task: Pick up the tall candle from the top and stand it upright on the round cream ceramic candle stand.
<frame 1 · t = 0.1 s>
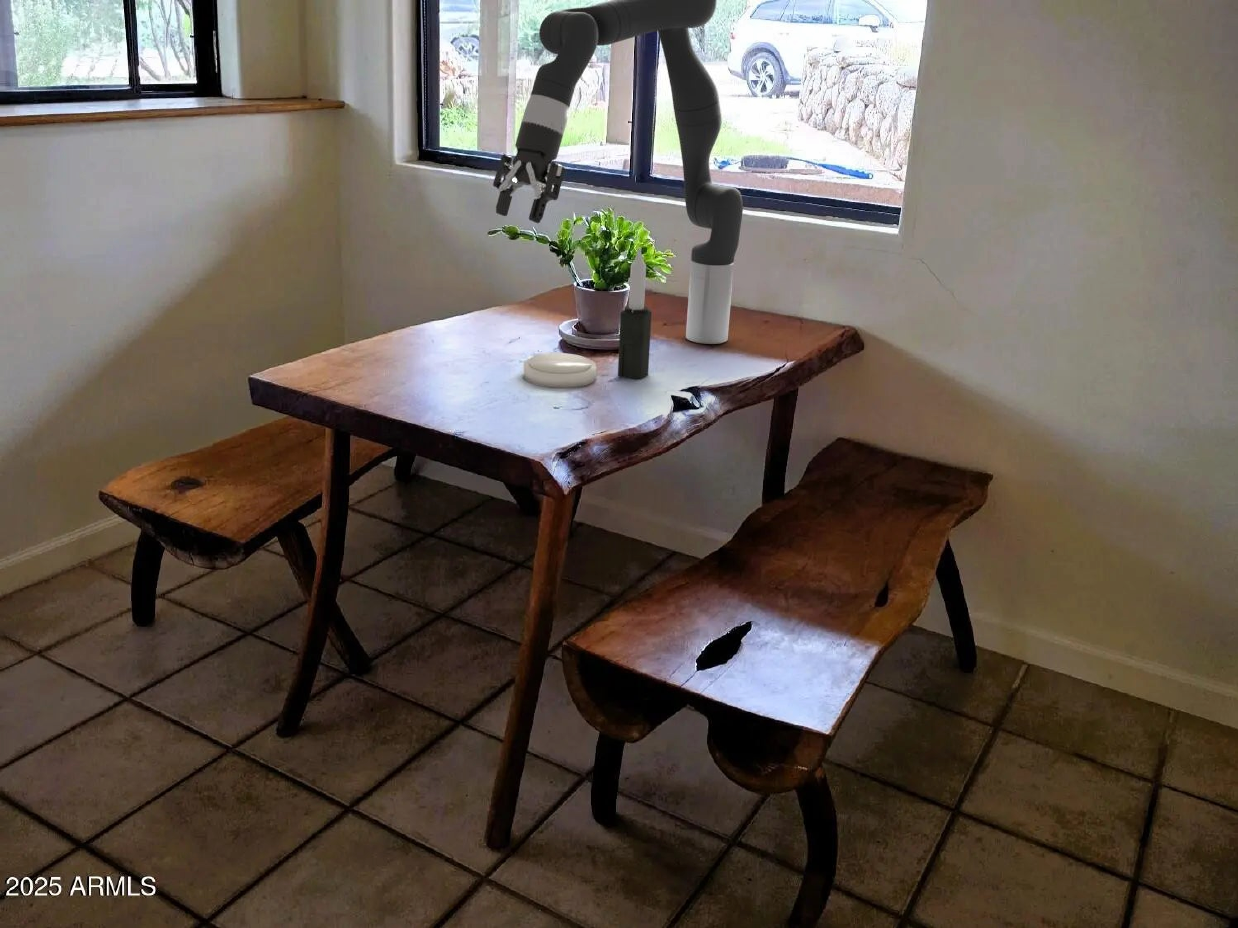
hand: (517, 218, 197), 31 cm above the table, tool tilted 20°, fingers open, 8 cm apart
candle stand: (559, 376, 217), on the table
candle: (632, 375, 221), on the table
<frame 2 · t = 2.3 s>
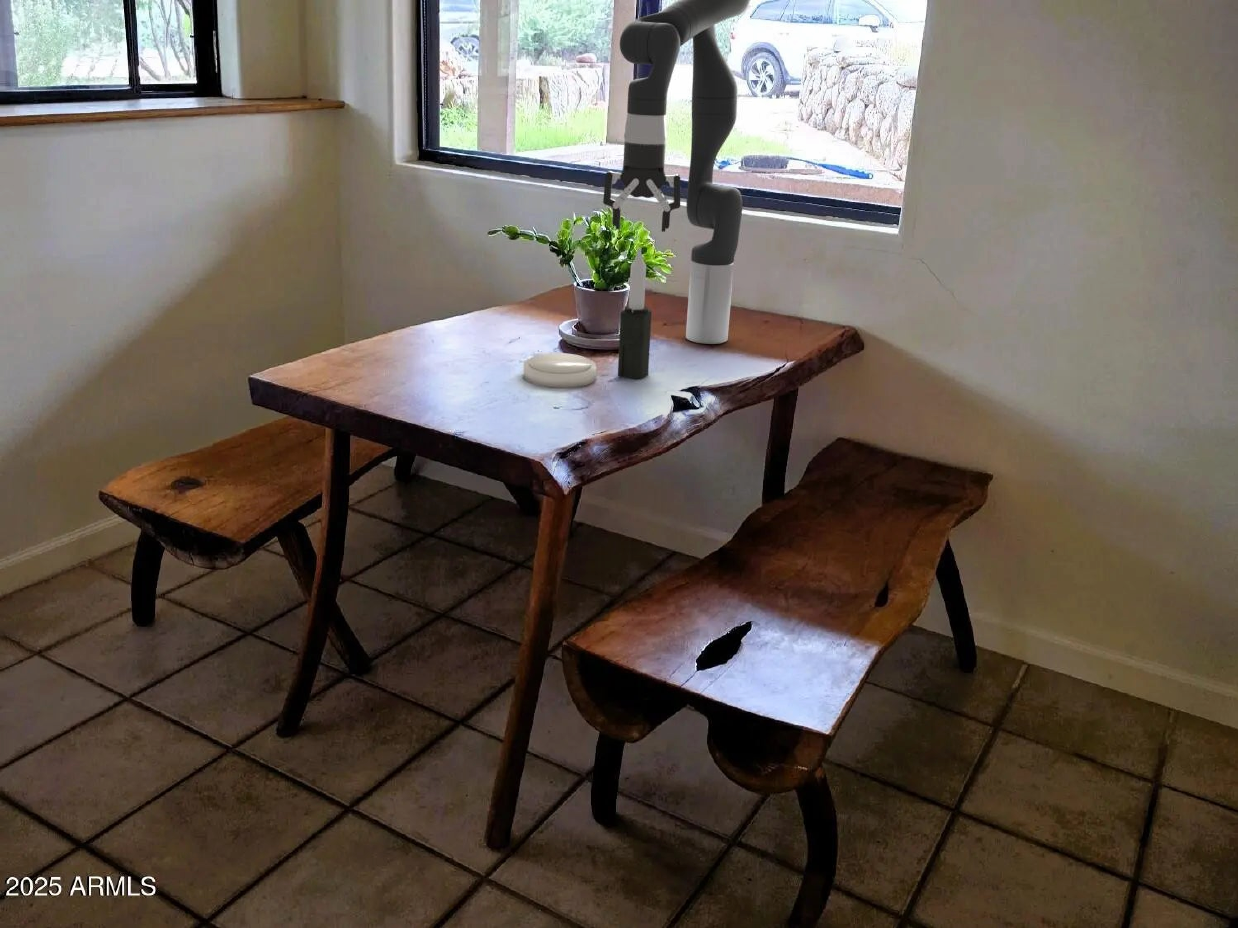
hand: (640, 230, 210), 28 cm above the table, tool pointing down, fingers open, 8 cm apart
nothing on the table moved.
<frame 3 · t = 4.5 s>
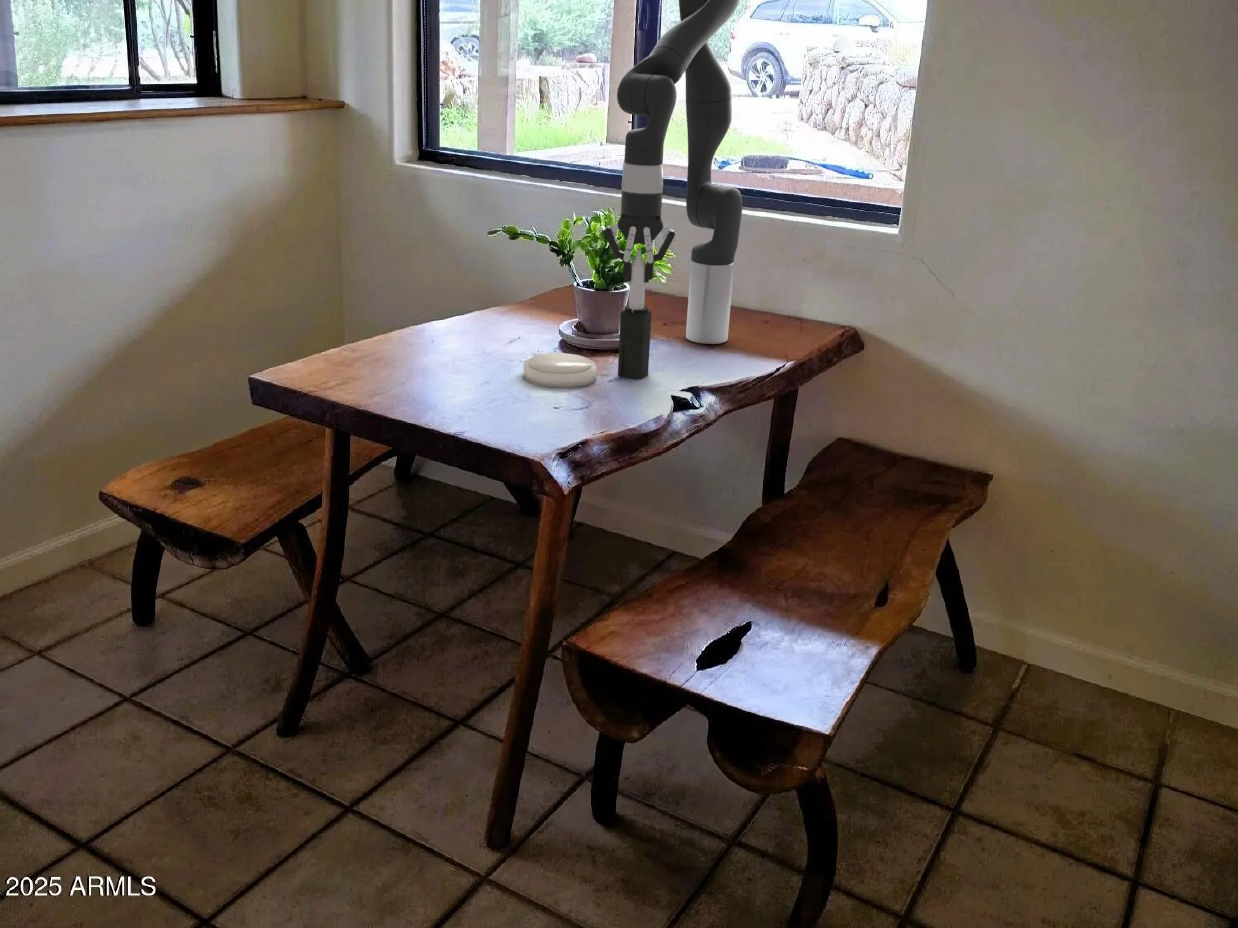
hand: (637, 281, 214), 19 cm above the table, tool pointing down, fingers closed on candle, 3 cm apart
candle: (632, 375, 221), on the table, touching gripper
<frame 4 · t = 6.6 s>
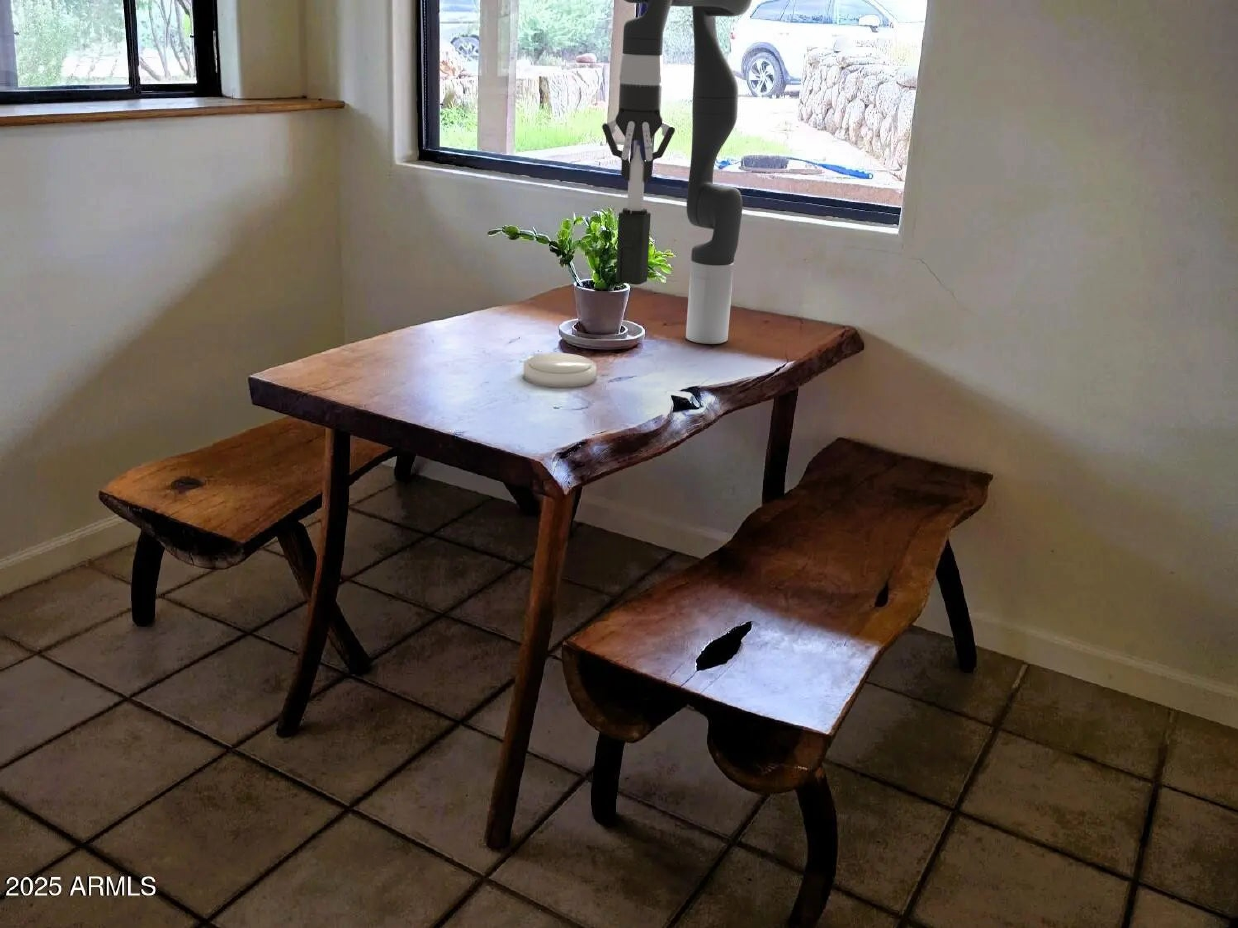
hand: (636, 180, 206), 37 cm above the table, tool pointing down, fingers closed on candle, 3 cm apart
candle: (631, 282, 213), point 18 cm above the table, touching gripper
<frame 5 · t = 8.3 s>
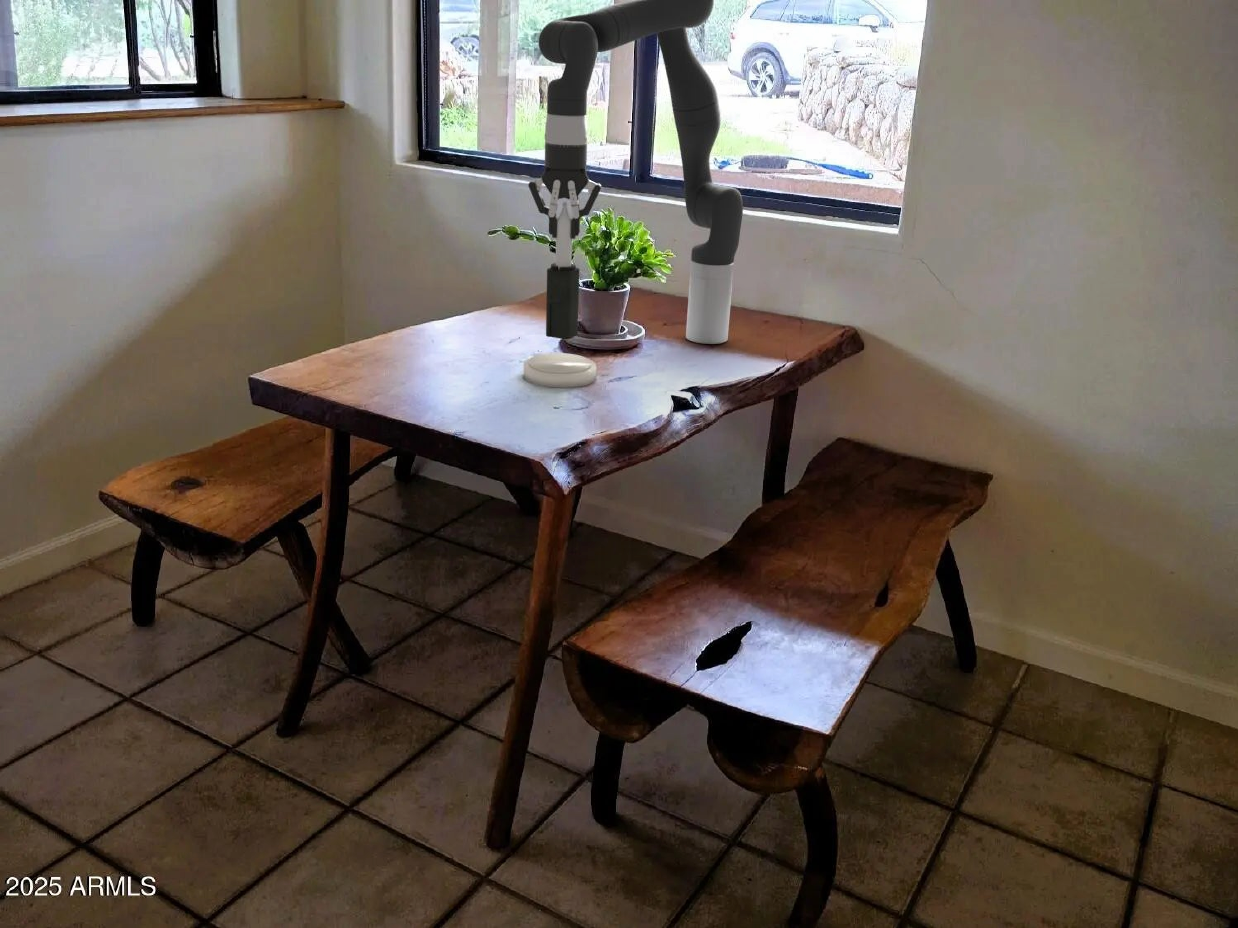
hand: (563, 237, 207), 27 cm above the table, tool pointing down, fingers closed on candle, 3 cm apart
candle: (561, 336, 214), point 8 cm above the table, touching gripper
when the fingers open (23 cm above the table, at t = 9.2 s): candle drops 1 cm, resting on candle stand.
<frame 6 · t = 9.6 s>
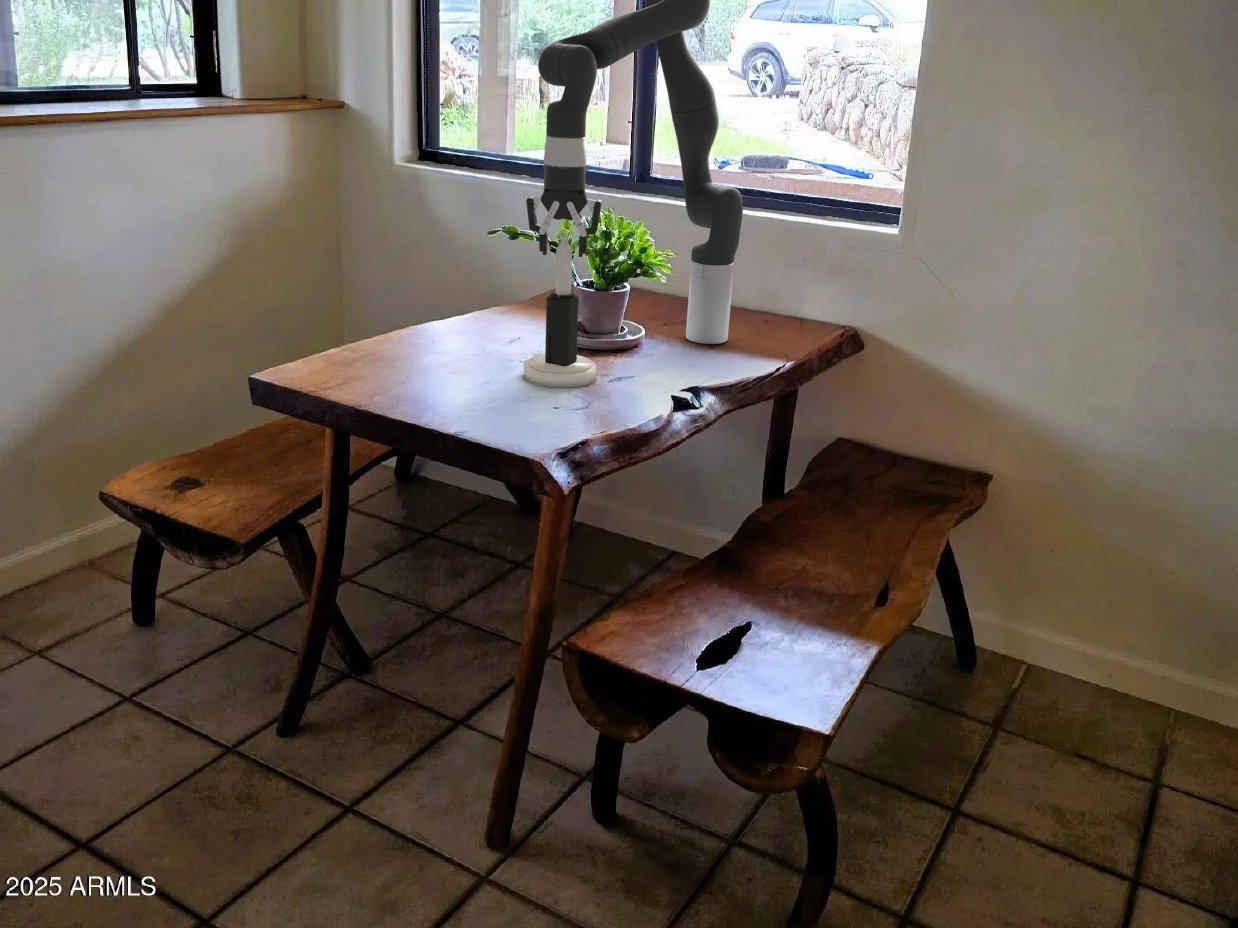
hand: (562, 255, 209), 24 cm above the table, tool pointing down, fingers open, 6 cm apart
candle: (560, 362, 216), point 3 cm above the table, touching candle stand
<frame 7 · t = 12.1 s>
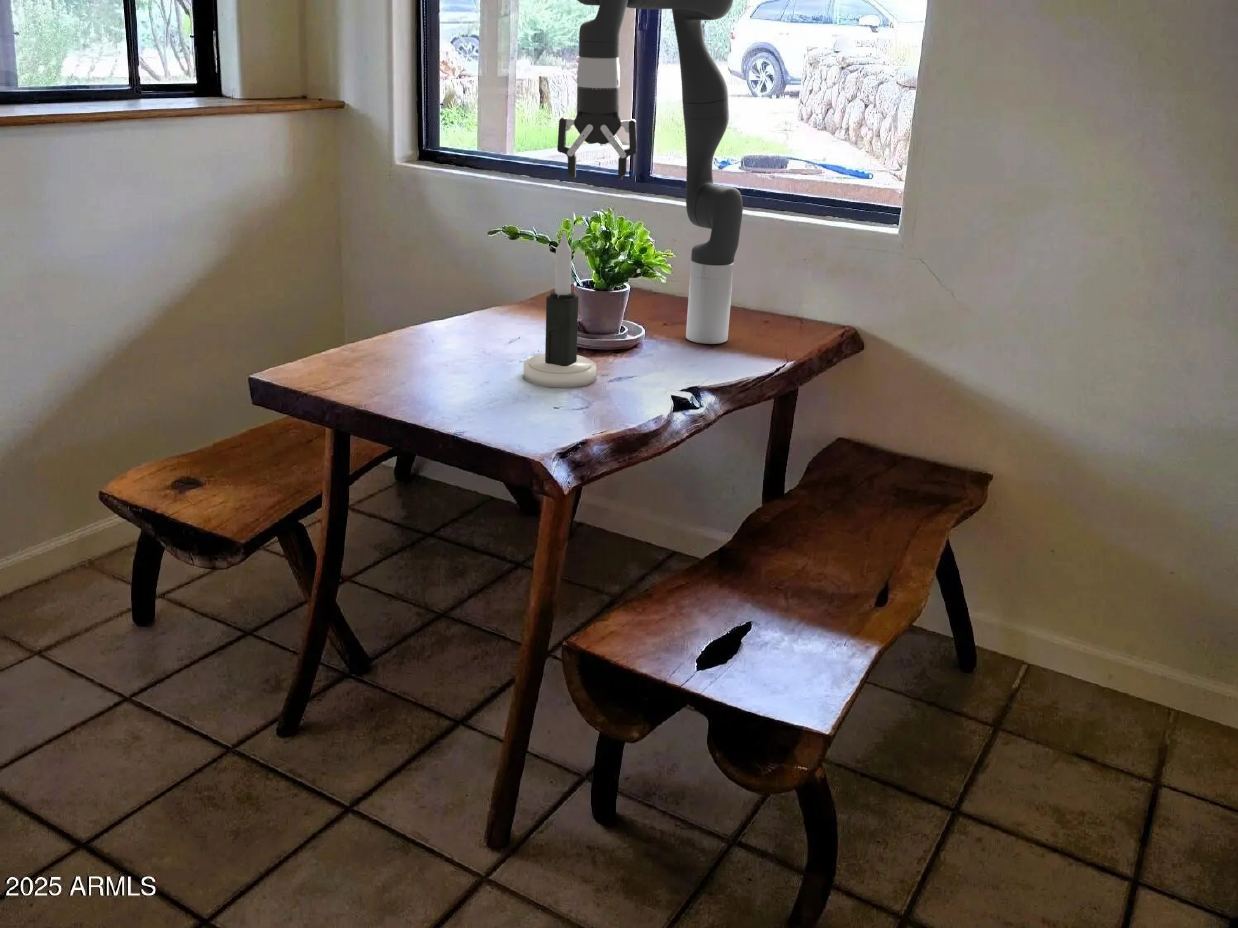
hand: (596, 178, 205), 38 cm above the table, tool pointing down, fingers open, 8 cm apart
nothing on the table moved.
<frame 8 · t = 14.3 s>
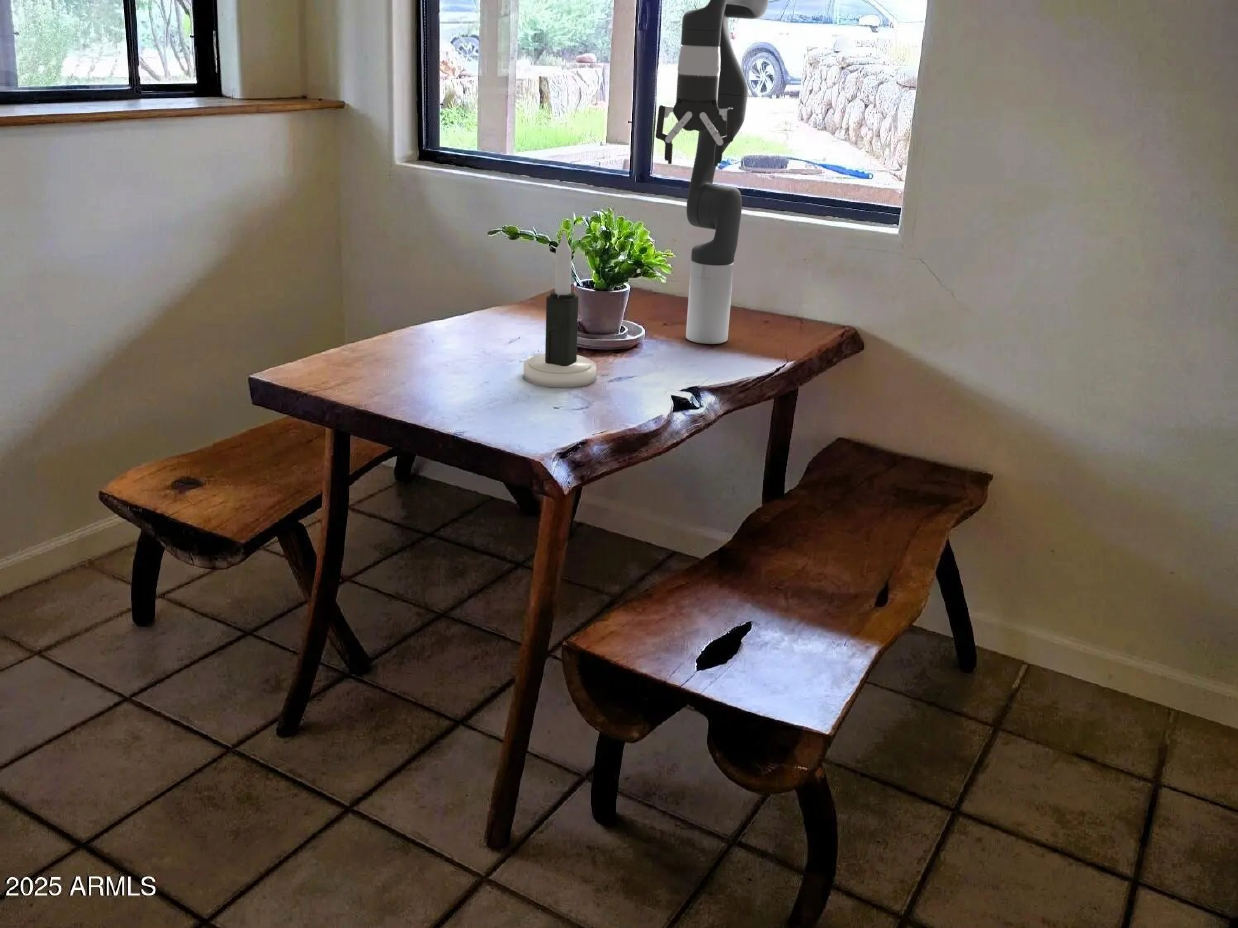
hand: (692, 164, 209), 40 cm above the table, tool pointing down, fingers open, 8 cm apart
nothing on the table moved.
at the end: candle 0.1 cm off-centre on the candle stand, point 2.8 cm above the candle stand's base; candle tilted 0°; the gripper is holding nothing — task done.
